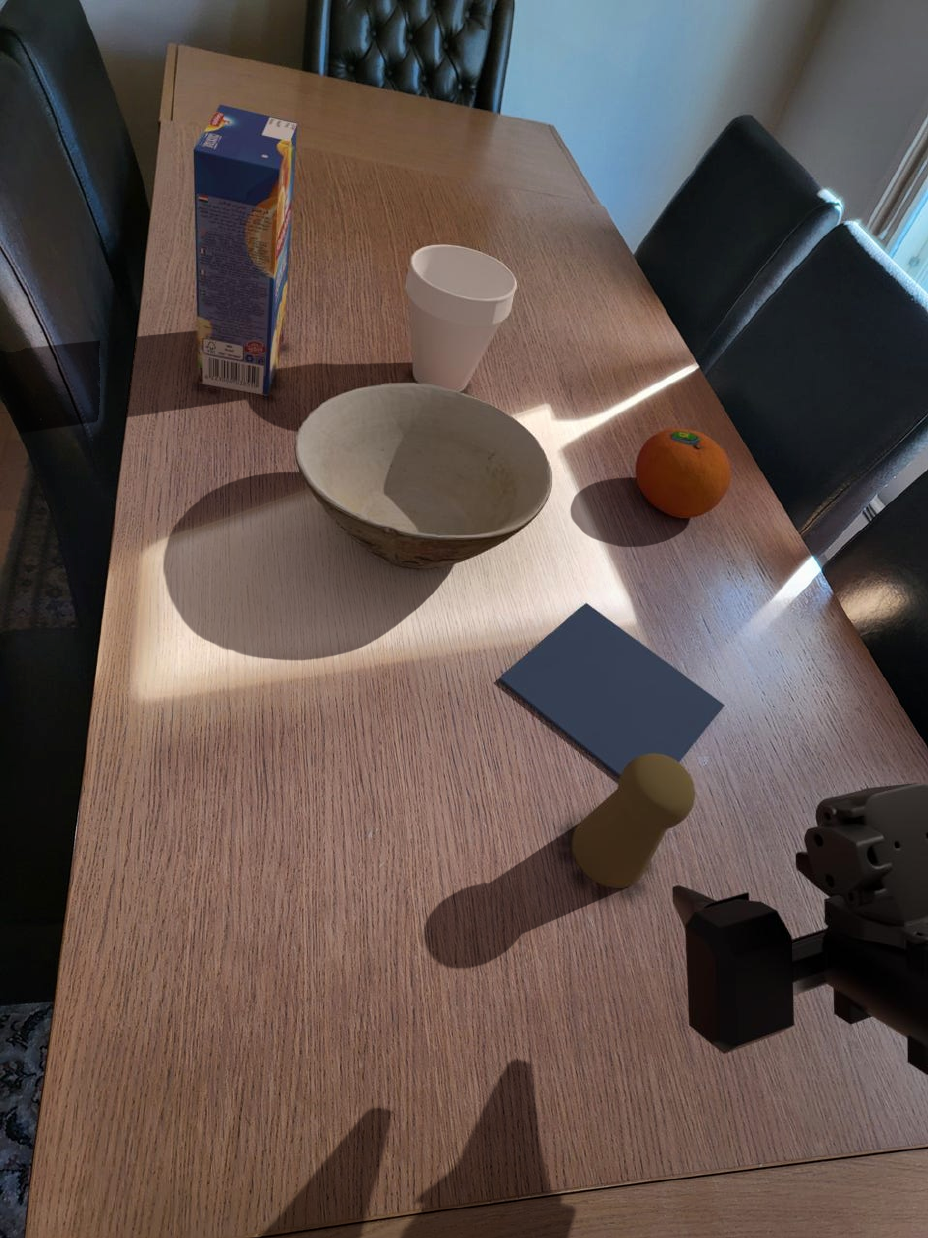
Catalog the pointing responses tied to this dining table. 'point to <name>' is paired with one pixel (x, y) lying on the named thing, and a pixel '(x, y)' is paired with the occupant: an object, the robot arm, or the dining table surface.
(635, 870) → the cork
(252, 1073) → the dining table surface
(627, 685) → the book
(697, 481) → the fruit
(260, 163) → the blue cardboard box
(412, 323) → the cup
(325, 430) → the bowl
